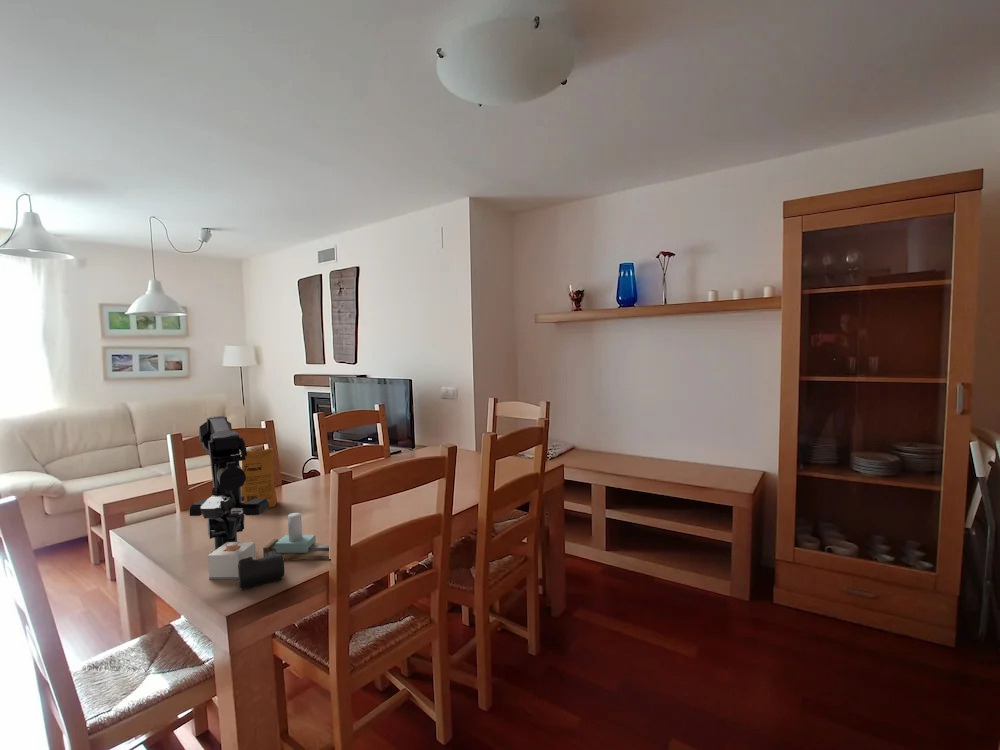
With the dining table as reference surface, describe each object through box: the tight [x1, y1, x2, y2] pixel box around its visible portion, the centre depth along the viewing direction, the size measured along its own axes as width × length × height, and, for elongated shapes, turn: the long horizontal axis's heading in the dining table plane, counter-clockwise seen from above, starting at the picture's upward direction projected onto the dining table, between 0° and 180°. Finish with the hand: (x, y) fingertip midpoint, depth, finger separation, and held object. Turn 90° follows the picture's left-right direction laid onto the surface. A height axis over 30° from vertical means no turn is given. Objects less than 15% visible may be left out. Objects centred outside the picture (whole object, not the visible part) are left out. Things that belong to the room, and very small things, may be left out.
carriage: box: [275, 512, 317, 553], centre depth 135 cm, size 9×6×10 cm, turn 88°
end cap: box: [238, 551, 285, 591], centre depth 118 cm, size 10×7×7 cm
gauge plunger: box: [226, 541, 238, 551], centre depth 124 cm, size 3×3×4 cm
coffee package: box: [241, 447, 278, 509], centre depth 175 cm, size 10×12×22 cm
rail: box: [262, 538, 330, 561], centre depth 135 cm, size 21×8×3 cm, turn 88°
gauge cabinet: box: [207, 541, 257, 581], centre depth 124 cm, size 8×8×6 cm
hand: (231, 538), depth 124 cm, fingers closed
